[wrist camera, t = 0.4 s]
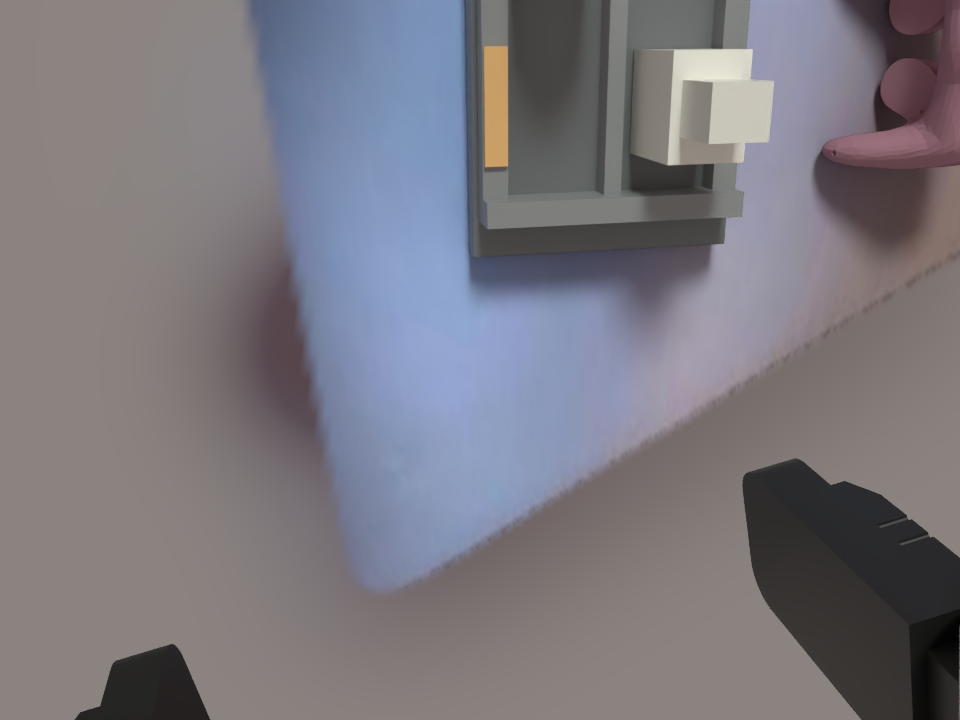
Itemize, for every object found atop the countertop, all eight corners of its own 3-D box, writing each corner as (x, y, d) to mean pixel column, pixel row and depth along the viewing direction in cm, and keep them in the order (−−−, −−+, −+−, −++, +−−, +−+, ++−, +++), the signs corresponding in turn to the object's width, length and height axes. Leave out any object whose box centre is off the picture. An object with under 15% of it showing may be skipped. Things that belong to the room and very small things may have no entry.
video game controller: (867, 157, 42) (1027, 170, 37) (810, 168, 40) (974, 184, 34) (892, -76, 39) (1072, -98, 34) (832, -81, 36) (1016, -106, 31)
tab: (634, 49, 36) (704, 50, 30) (705, 48, 36) (788, 49, 30) (629, 153, 37) (695, 174, 31) (698, 150, 37) (776, 171, 31)
